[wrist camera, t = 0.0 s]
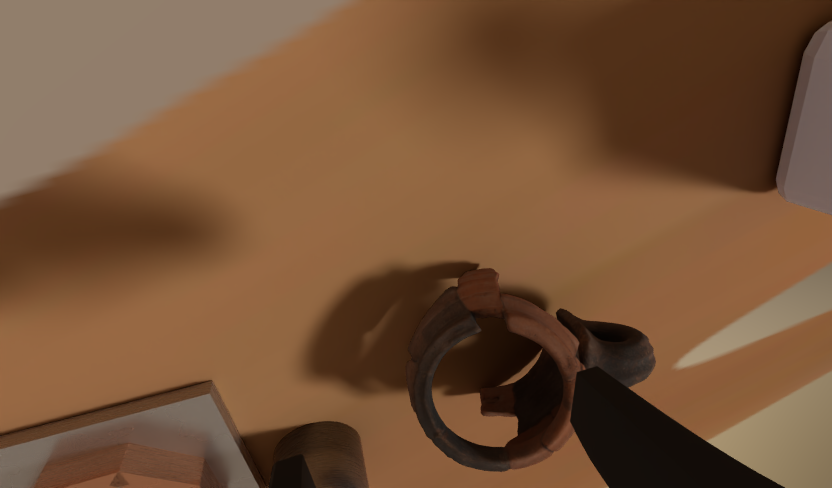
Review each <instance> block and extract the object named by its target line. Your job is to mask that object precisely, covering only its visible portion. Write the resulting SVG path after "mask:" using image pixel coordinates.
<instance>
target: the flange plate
mask: <svg viewBox="0 0 832 488" xmlns="http://www.w3.org/2000/svg"><path fill="white" fill-rule="evenodd" d="M0 488H267V487H266V485H265V483H264V482H263V480H262V478H261V476H260V474H259V472H258V470H257V468H256V466H255V464H254V462H253V460H252V458H251V456H250V454H249V452H248V450H247V448H246V446H245V444H244V442H243V440H242V438H241V436H240V434H239V432H238V430H237V429H236V427H235V425H234V423H233V421H232V419H231V417H230V415H229V413H228V411H227V409H226V407H225V405H224V403H223V401H222V399H221V397H220V395H219V393H218V391H217V389H216V387H215V385H214V383H213V381H209V382H205V383H201V384H198V385H194V386H190V387H186V388H182V389H179V390H175V391H171V392H167V393H163V394H159V395H156V396H152V397H148V398H144V399H140V400H136V401H133V402H129V403H125V404H121V405H117V406H114V407H110V408H106V409H102V410H98V411H94V412H91V413H87V414H83V415H79V416H75V417H71V418H68V419H64V420H60V421H56V422H52V423H48V424H45V425H41V426H37V427H33V428H29V429H26V430H22V431H18V432H14V433H10V434H6V435H3V436H0Z"/></svg>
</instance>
